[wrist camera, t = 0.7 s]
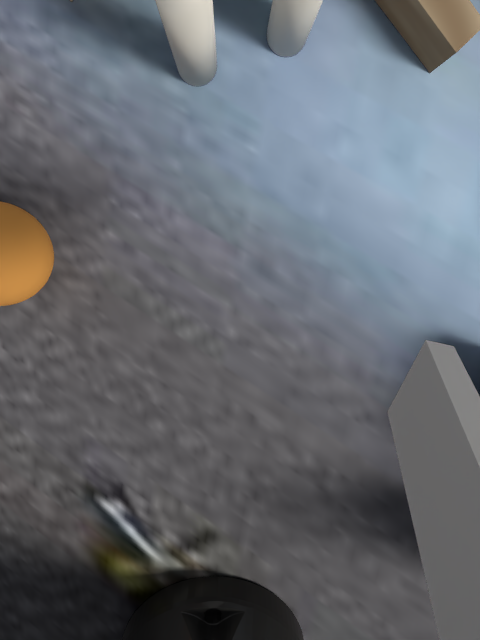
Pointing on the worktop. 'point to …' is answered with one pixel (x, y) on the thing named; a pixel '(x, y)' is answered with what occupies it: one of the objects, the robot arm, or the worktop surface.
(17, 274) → the ball
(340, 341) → the worktop surface
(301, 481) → the worktop surface
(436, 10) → the triangular peg stand
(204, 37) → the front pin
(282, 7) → the pin
